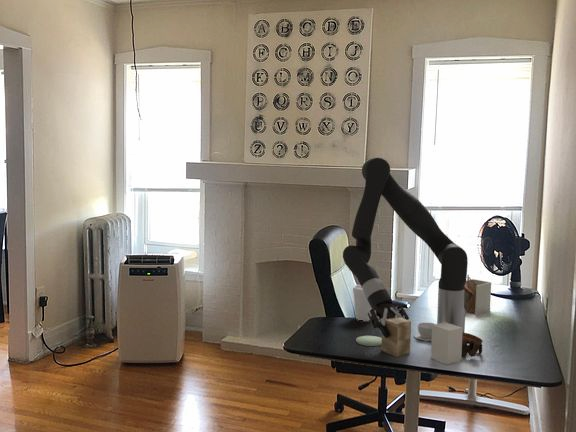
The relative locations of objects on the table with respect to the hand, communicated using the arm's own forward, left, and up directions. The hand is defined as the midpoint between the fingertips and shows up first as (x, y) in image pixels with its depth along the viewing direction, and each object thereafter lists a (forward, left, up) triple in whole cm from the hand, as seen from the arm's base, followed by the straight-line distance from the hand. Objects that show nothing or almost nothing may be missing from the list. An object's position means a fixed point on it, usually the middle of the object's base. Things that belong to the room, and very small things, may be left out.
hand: (398, 335), depth 207 cm
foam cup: (-17, -38, -6) cm, 42 cm away
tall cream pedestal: (-9, +13, -6) cm, 17 cm away
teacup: (-21, -7, -6) cm, 24 cm away
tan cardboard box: (0, -1, -6) cm, 6 cm away
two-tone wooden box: (-66, -25, -7) cm, 71 cm away
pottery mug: (-19, +14, -6) cm, 24 cm away
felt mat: (0, -14, -6) cm, 15 cm away
